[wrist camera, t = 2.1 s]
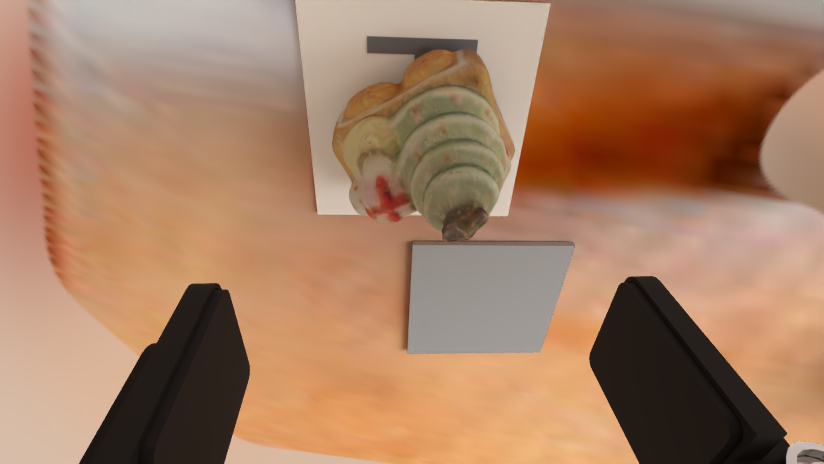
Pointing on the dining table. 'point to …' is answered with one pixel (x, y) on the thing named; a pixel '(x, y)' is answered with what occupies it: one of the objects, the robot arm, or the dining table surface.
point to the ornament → (427, 145)
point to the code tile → (391, 55)
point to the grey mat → (484, 295)
